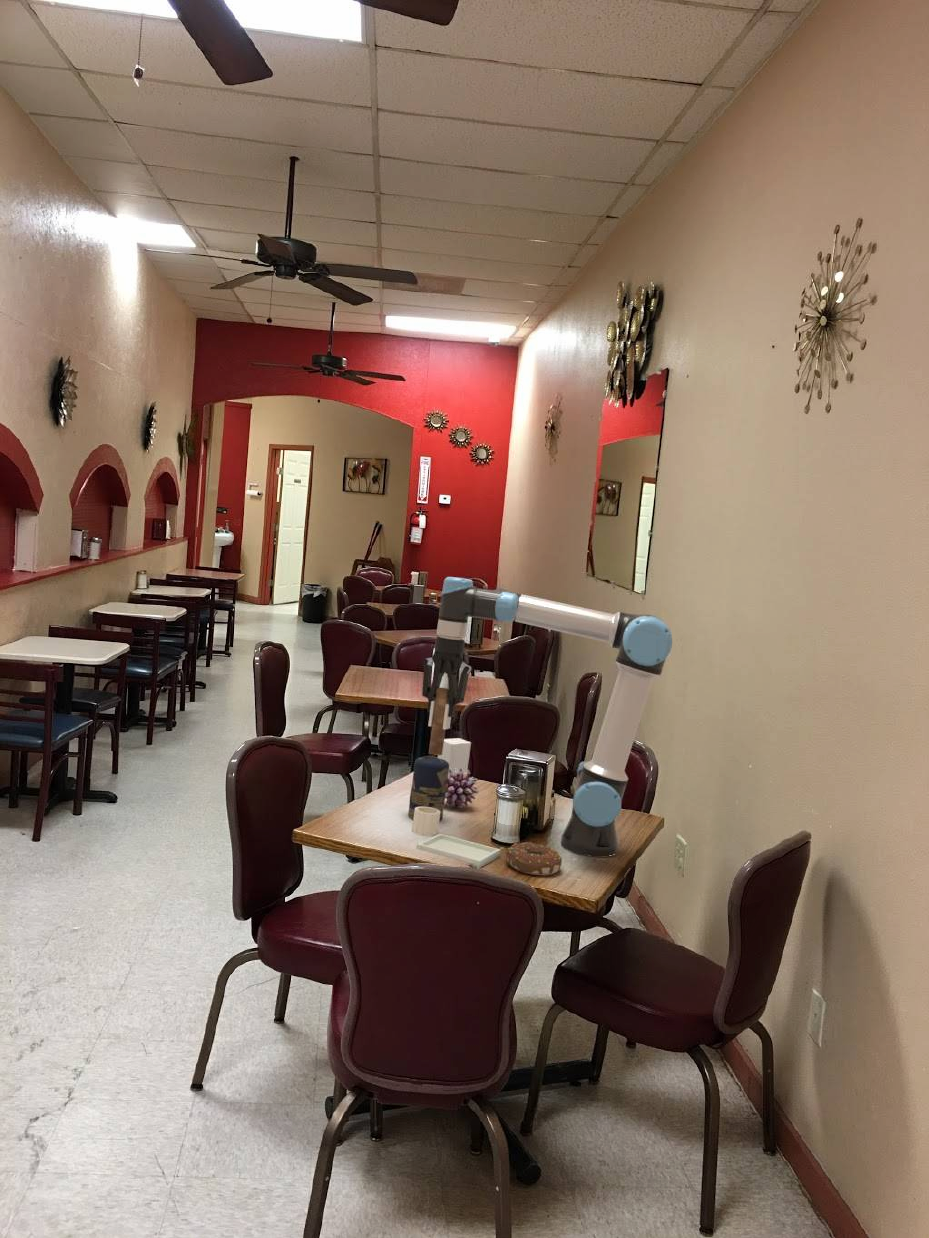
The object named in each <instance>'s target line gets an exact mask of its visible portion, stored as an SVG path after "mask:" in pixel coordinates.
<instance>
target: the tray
mask: <svg viewBox="0 0 929 1238" xmlns="http://www.w3.org/2000/svg"><path fill="white" fill-rule="evenodd" d="M415 849H417V850H420V851H425V852H429V853H432V854H436V855H438V856H439V855H440V856H443V857H446V858H450V859H455V860H457V861H461V862H466V863H469V864H468V867H471V866H472V868H475V867H477V868H476V869H481V868H482V866H483V867H484V866H486V865H487V864H489V863H491V862H494V861H495V860H496V859H498V858H500V856H501V850H502V849H501V848H496V847H492V846H488V845H485V844H481V843H477V842H473V841H469V840H466V839H462V838H459V837H454V836H450V835H447V834H443V833H438V834H437V835H434V836H430V837H429V838H427V839H425V840H423V841H420V842H418V843H417V844H416V848H415Z"/></svg>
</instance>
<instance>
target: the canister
mask: <svg viewBox="0 0 929 1238" xmlns="http://www.w3.org/2000/svg"><path fill="white" fill-rule="evenodd" d="M448 772H449V763H448V762H447V761H446V760H443V759H439V758H438V756H437V757H436V755H428V756H427V755H425V756H421V757H420V756H419V757H417V758H416V759H415V761H414V765H413V773H412V783H411V787H410V788H411V789H410V793H409V794H410V795H409V803H408V804H409V805H408V811H407V812H408V813H407V814H408V818H409V819H411V820H413V818H414V811H415V808H416V807H431V808H435V809H438V810H440V819H439V823H440V822H441V821H442V820H443V817H444V808H445V800H446V798H445V794H446V788H447V780H448Z"/></svg>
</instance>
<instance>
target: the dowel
mask: <svg viewBox="0 0 929 1238" xmlns="http://www.w3.org/2000/svg"><path fill="white" fill-rule="evenodd" d="M448 702H449V688H446V687H439V688H437V694H436V701H435V709H434V716H433V724H432V726H431V732H430V740H429V741H430V742H429V747H428V754H429V755H431V756H438V755H442V752H443V744H444V739H445V735H446V730H445V729H443V722H444V714H445V707H446V704H448Z"/></svg>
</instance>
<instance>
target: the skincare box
mask: <svg viewBox="0 0 929 1238" xmlns="http://www.w3.org/2000/svg"><path fill="white" fill-rule="evenodd" d="M471 746H472V742H471V741H467V740H465V739H463V738H459V737H457V738H455V737H454V738H444V744H443V752H442V755H437V758H439V759H443V760H446V761H447V762H448V763H449V769H451V771H452V772H454V768H457V770H458V771H459V769H460V768H462V772H463V773H464V772H466V771H467V770H469V768H468V767H469V760H470V753H471ZM449 774H450V773H449V772H448V775H449Z"/></svg>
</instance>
